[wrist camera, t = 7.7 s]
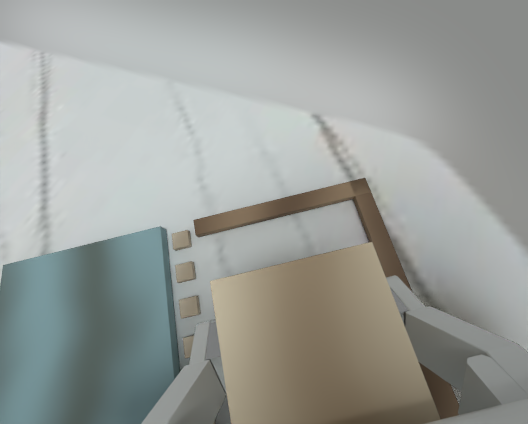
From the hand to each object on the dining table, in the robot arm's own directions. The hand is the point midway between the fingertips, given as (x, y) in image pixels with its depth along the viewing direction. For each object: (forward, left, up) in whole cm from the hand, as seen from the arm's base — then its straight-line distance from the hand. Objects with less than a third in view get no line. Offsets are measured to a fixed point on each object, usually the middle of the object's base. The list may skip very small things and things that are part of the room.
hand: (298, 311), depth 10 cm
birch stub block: (0, -1, -4) cm, 4 cm away
